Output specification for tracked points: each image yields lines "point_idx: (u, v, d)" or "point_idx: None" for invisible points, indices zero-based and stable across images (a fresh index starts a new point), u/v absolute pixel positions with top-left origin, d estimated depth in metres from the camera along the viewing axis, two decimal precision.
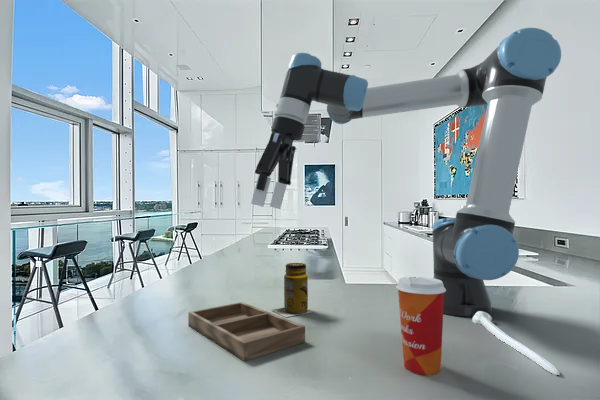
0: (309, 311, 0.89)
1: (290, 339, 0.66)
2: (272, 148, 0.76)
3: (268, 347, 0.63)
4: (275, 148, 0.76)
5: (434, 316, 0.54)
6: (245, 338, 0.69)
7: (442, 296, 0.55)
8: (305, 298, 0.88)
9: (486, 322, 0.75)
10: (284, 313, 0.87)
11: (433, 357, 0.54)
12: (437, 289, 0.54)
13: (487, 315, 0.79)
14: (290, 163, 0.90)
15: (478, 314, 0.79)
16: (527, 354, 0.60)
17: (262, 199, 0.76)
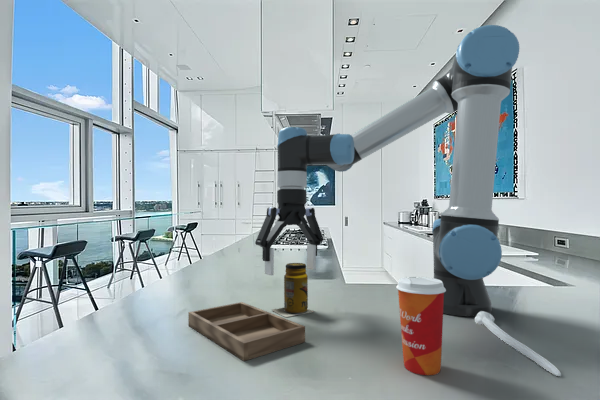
0: (309, 311, 0.89)
1: (290, 339, 0.66)
2: (267, 222, 0.85)
3: (268, 347, 0.63)
4: (268, 221, 0.85)
5: (434, 316, 0.54)
6: (245, 338, 0.69)
7: (442, 296, 0.55)
8: (305, 298, 0.88)
9: (488, 322, 0.75)
10: (284, 313, 0.87)
11: (433, 357, 0.54)
12: (437, 289, 0.54)
13: (489, 315, 0.79)
14: (313, 224, 0.94)
15: (480, 314, 0.79)
16: (528, 355, 0.60)
17: (270, 269, 0.85)
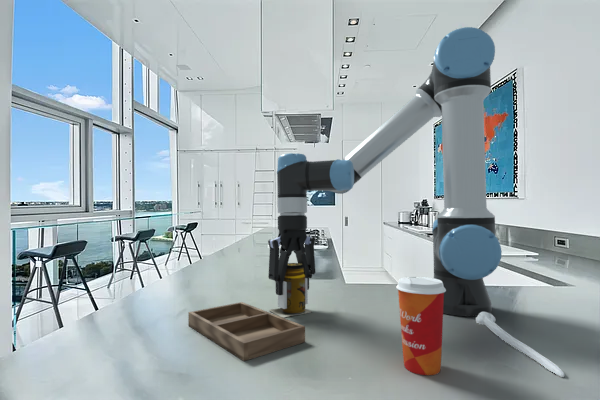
0: (307, 311, 0.89)
1: (290, 339, 0.66)
2: (272, 255, 0.86)
3: (268, 347, 0.63)
4: (274, 255, 0.85)
5: (434, 316, 0.54)
6: (245, 338, 0.69)
7: (442, 296, 0.55)
8: (302, 298, 0.88)
9: (490, 322, 0.75)
10: (281, 313, 0.87)
11: (433, 357, 0.54)
12: (437, 289, 0.54)
13: (491, 316, 0.79)
14: (310, 253, 0.93)
15: (481, 315, 0.79)
16: (531, 355, 0.60)
17: (283, 302, 0.86)
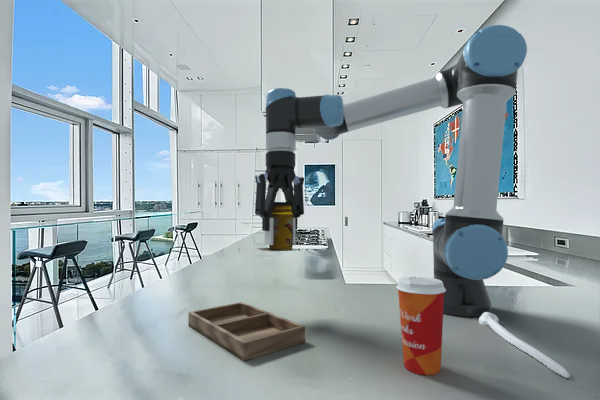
0: (294, 249, 0.87)
1: (290, 339, 0.66)
2: (259, 190, 0.84)
3: (268, 347, 0.63)
4: (260, 189, 0.84)
5: (434, 316, 0.54)
6: (245, 338, 0.69)
7: (442, 296, 0.55)
8: (290, 235, 0.86)
9: (493, 323, 0.74)
10: (268, 250, 0.85)
11: (433, 357, 0.54)
12: (437, 289, 0.54)
13: (494, 316, 0.78)
14: (298, 193, 0.91)
15: (485, 315, 0.78)
16: (536, 356, 0.59)
17: (269, 238, 0.85)
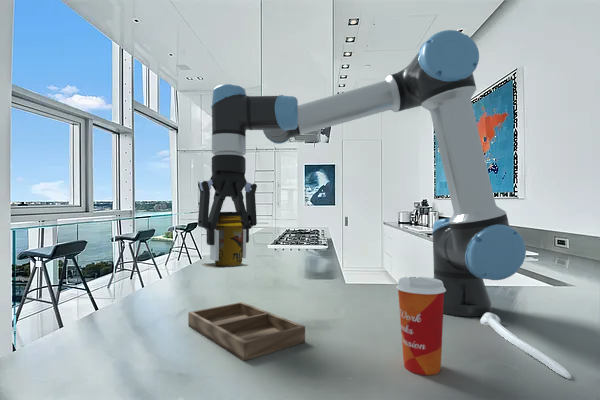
0: (243, 265, 0.78)
1: (290, 339, 0.66)
2: (202, 199, 0.75)
3: (268, 347, 0.63)
4: (203, 198, 0.74)
5: (434, 316, 0.54)
6: (245, 338, 0.69)
7: (442, 296, 0.55)
8: (238, 250, 0.77)
9: (495, 323, 0.74)
10: (213, 266, 0.76)
11: (433, 357, 0.54)
12: (437, 289, 0.54)
13: (495, 317, 0.78)
14: (250, 202, 0.82)
15: (486, 315, 0.78)
16: (537, 357, 0.59)
17: (214, 253, 0.76)
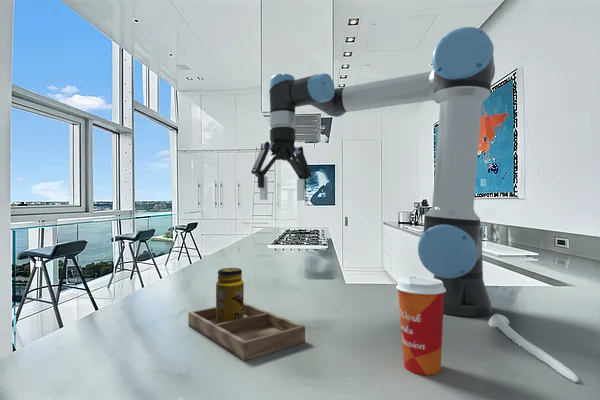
0: None
1: (290, 339, 0.66)
2: (261, 154, 0.99)
3: (268, 347, 0.63)
4: (262, 153, 0.98)
5: (434, 316, 0.54)
6: (245, 338, 0.69)
7: (442, 296, 0.55)
8: (239, 309, 0.76)
9: (503, 325, 0.73)
10: None
11: (433, 357, 0.54)
12: (437, 289, 0.54)
13: (504, 318, 0.77)
14: (302, 161, 1.07)
15: (495, 317, 0.77)
16: (545, 359, 0.58)
17: (264, 194, 0.98)
